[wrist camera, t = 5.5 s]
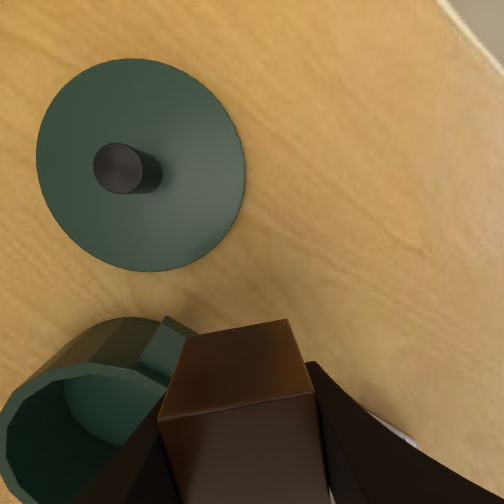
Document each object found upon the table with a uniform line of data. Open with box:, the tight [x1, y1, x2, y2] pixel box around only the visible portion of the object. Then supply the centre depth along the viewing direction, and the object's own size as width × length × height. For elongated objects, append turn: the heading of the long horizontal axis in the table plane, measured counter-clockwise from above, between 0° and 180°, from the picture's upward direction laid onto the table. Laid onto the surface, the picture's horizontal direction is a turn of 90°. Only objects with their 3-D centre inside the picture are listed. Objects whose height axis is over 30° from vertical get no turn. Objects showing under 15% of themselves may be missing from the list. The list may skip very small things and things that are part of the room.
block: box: [157, 319, 332, 504], centre depth 9 cm, size 4×4×4 cm
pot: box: [0, 316, 199, 504], centre depth 19 cm, size 11×17×6 cm
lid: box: [36, 59, 245, 272], centre depth 16 cm, size 12×12×5 cm
